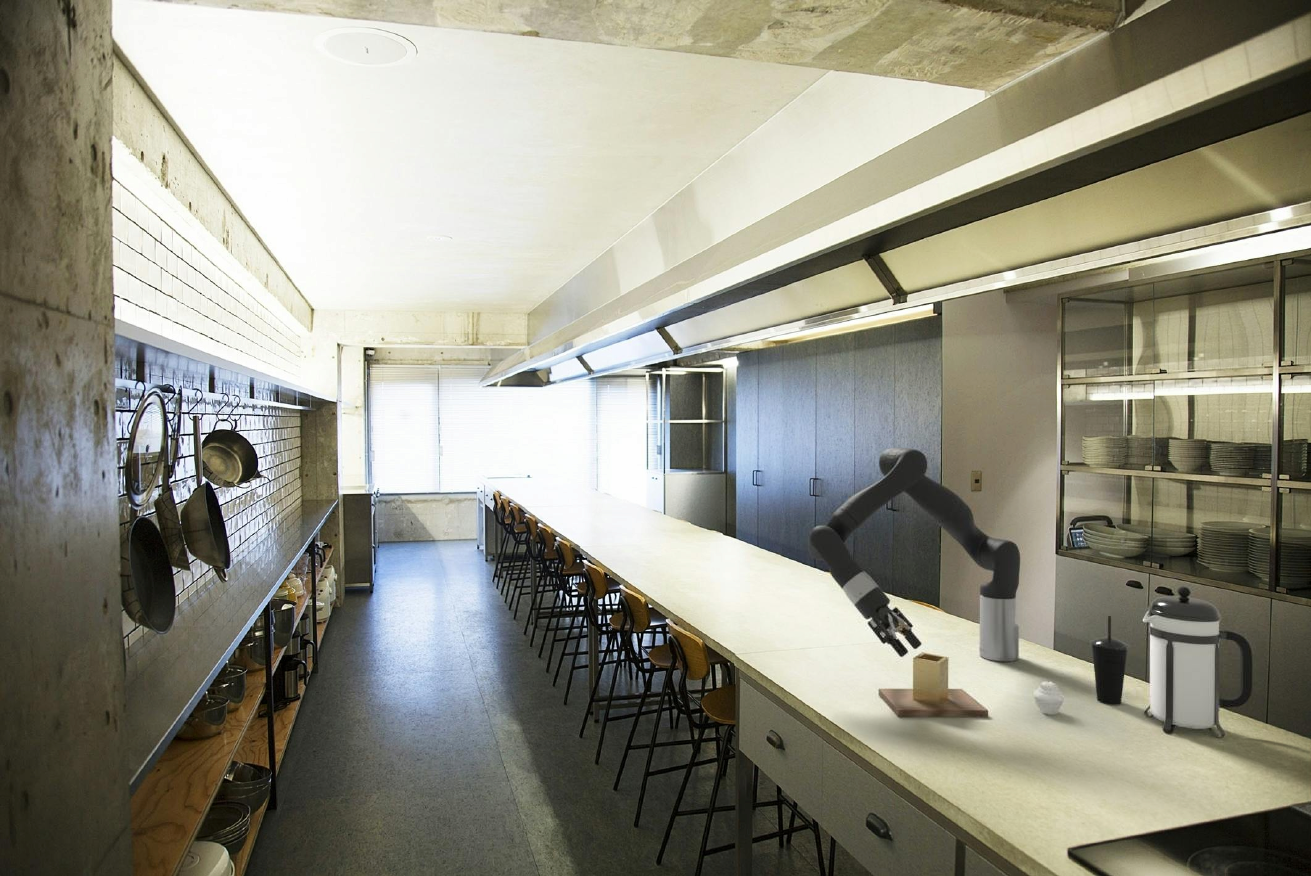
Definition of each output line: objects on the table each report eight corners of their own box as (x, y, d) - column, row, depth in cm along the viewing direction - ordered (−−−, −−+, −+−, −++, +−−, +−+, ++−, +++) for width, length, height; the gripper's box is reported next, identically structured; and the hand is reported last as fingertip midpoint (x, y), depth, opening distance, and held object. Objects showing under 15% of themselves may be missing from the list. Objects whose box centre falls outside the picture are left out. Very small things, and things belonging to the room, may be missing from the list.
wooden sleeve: (922, 692, 176) (922, 652, 176) (948, 698, 172) (948, 657, 172) (912, 699, 171) (913, 658, 171) (939, 705, 168) (939, 663, 168)
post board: (961, 694, 179) (961, 666, 179) (988, 716, 165) (988, 686, 165) (878, 694, 179) (878, 666, 179) (897, 716, 165) (898, 685, 165)
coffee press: (1208, 747, 149) (1209, 597, 149) (1126, 720, 163) (1127, 583, 163) (1253, 732, 157) (1254, 589, 157) (1171, 707, 171) (1172, 577, 171)
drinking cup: (1123, 697, 177) (1123, 613, 177) (1132, 708, 170) (1132, 621, 170) (1086, 694, 180) (1087, 611, 180) (1094, 704, 173) (1094, 618, 173)
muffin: (1026, 709, 170) (1027, 678, 170) (1046, 705, 172) (1046, 675, 172) (1050, 718, 164) (1051, 687, 164) (1070, 715, 166) (1070, 683, 166)
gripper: (863, 590, 175) (912, 648, 167) (887, 581, 186) (934, 635, 178) (842, 609, 178) (889, 667, 171) (867, 599, 189) (911, 653, 182)
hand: (912, 650), depth 175 cm, fingers open, 8 cm apart
